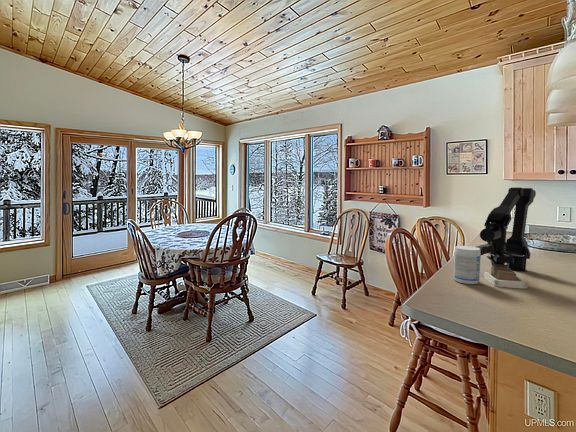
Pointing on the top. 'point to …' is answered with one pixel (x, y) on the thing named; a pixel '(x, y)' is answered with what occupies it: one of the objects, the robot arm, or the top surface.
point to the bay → (506, 282)
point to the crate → (502, 272)
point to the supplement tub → (467, 264)
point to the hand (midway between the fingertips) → (495, 273)
